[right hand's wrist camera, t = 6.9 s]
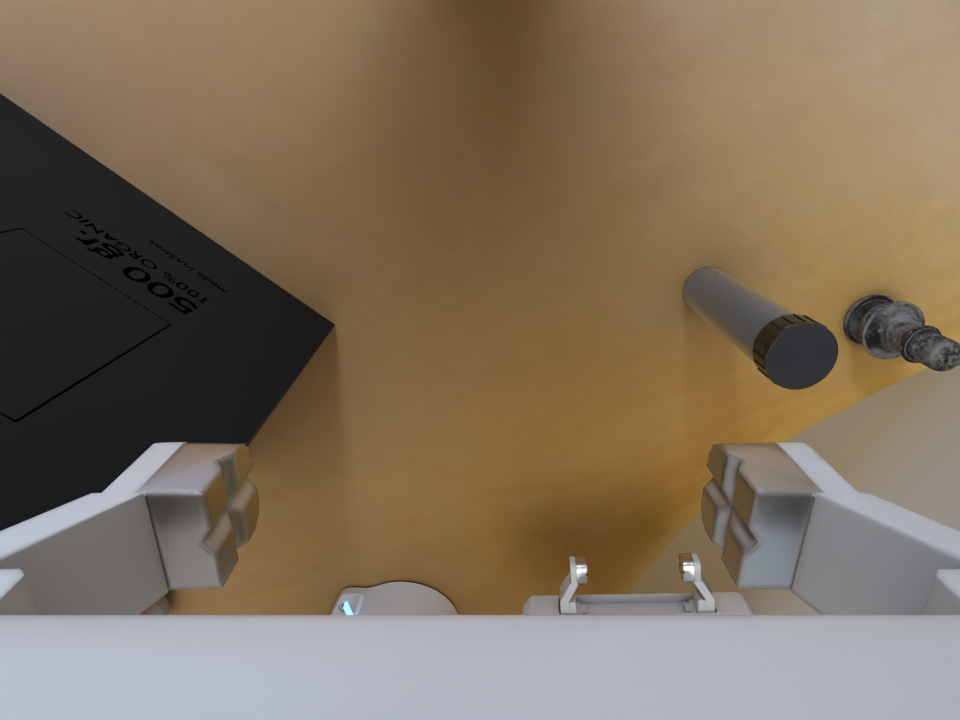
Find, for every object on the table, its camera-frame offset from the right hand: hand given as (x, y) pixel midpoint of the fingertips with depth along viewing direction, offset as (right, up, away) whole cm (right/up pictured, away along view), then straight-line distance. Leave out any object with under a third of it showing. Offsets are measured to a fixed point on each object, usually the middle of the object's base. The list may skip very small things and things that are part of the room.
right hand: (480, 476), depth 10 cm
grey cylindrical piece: (+23, +9, +48) cm, 54 cm away
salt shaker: (+40, +6, +49) cm, 64 cm away
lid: (+23, +2, +31) cm, 39 cm away
